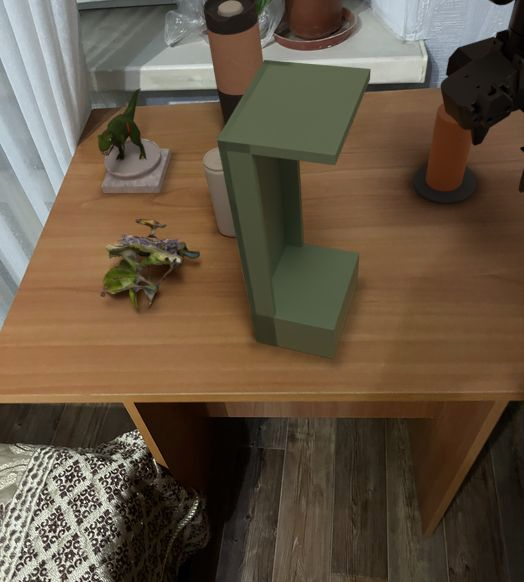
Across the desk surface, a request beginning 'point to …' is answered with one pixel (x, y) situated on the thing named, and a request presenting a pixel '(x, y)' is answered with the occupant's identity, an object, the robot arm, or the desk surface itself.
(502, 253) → the desk surface
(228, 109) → the travel mug
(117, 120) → the dinosaur figurine
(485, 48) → the robot arm
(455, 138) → the tea tin
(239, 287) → the desk surface
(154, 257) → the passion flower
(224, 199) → the beverage can
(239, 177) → the green c-shaped stand
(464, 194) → the coaster
